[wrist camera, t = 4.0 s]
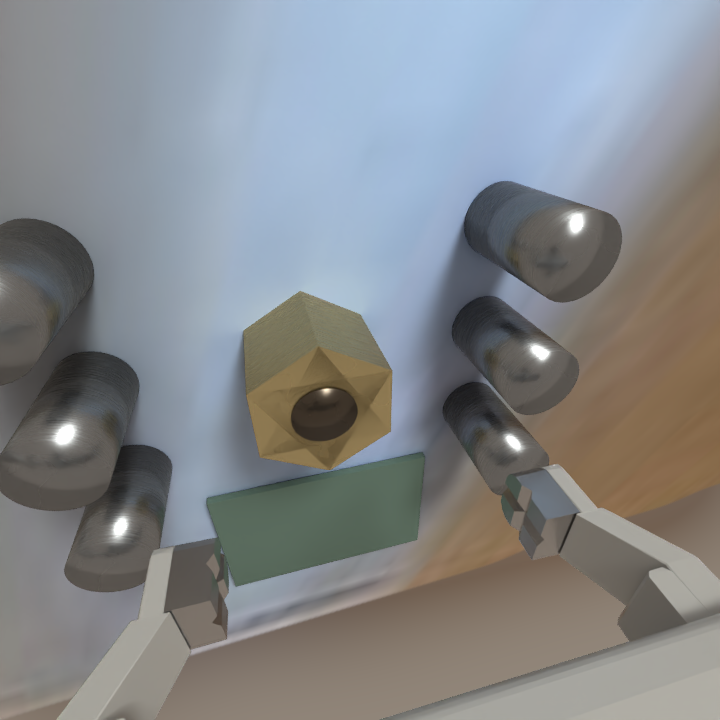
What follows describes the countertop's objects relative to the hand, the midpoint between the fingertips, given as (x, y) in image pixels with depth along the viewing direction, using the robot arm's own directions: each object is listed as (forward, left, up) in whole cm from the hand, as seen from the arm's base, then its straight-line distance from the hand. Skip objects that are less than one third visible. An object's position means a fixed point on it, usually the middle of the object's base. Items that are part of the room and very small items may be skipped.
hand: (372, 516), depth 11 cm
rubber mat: (-1, -12, -9) cm, 15 cm away
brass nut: (-1, 0, -9) cm, 9 cm away
